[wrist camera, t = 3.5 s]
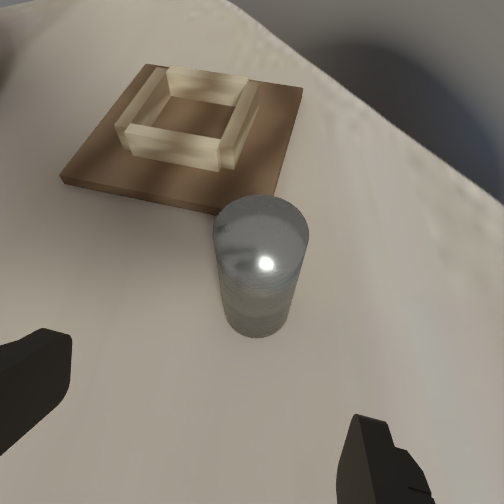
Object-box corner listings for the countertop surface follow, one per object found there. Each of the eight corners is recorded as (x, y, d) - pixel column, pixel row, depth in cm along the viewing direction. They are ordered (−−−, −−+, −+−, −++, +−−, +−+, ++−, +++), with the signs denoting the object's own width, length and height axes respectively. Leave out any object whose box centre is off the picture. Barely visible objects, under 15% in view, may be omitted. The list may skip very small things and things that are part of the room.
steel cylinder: (216, 328, 22) (199, 260, 15) (234, 271, 25) (228, 187, 17) (281, 345, 22) (300, 283, 14) (294, 285, 24) (315, 204, 16)
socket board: (64, 183, 29) (43, 151, 26) (148, 72, 38) (139, 40, 35) (264, 225, 27) (267, 196, 24) (301, 96, 36) (306, 64, 33)
